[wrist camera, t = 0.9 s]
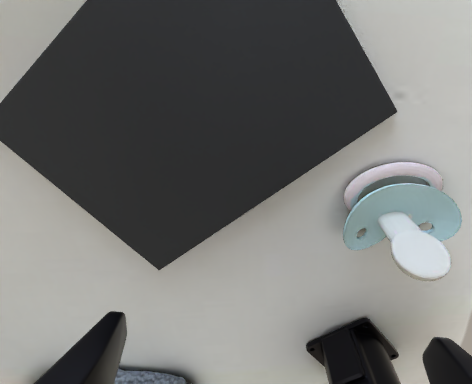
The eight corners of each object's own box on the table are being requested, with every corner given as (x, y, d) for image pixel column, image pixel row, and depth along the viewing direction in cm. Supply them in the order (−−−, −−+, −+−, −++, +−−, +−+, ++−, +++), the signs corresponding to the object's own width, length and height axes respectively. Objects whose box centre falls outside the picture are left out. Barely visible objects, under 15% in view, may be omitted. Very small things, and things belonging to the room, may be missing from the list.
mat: (394, 109, 18) (398, 111, 18) (160, 266, 25) (159, 270, 24) (237, -172, 13) (236, -179, 12) (-14, 123, 19) (-19, 125, 19)
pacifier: (335, 164, 20) (333, 238, 23) (371, 214, 15) (363, 303, 17) (450, 152, 20) (435, 229, 22) (532, 198, 14) (499, 293, 17)
